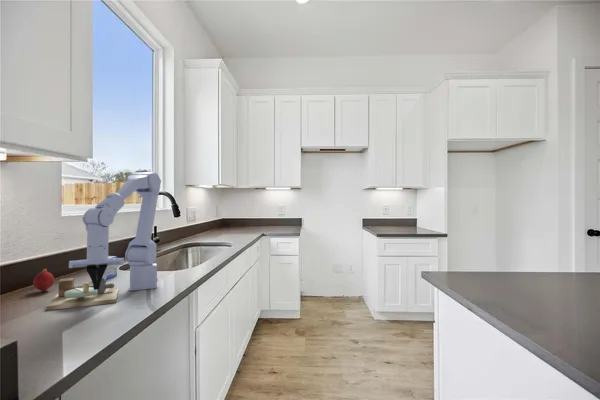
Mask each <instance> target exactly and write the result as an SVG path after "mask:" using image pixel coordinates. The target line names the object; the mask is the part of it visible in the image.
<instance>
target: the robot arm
mask: <svg viewBox="0 0 600 400" xmlns="http://www.w3.org/2000/svg"><path fill="white" fill-rule="evenodd" d="M161 183H162V180H161V178H160V175H159V174H158V173H157V172H155V171H152V172H136V171H133V172H131V173H130V174H129V175H128V176H127V178H126V181H125V183H123V185H122V186H121V187H120V188H119V189H118V190H116V192H114V193H113V192H112V193H107V194H106V195H105V198H103V199H102V201H100V202H99V203H97V204H96V206H95V207H93V208H89V209H87V210H86V211H85V212H84V215H83V216H82V221H83V224H84V225H85V230H86V234H87V235H86V236H87V237H86V259H78V260H69V262H68V269H73V268H85V267H86V272H87V274H88V275H89V277H90V280H91V283H92V285H93V287H94V290H98V289H99V288H100V283H101V280H102V277H103V274H104V272H105V270H106V268H107V266H108V265H117V266H118V265H120V266H122V265H124V263H125V262H124V261H126V262H127V263H128V265H129V266H130V267H129V284H128V290H127V291H128V292H131V291H132V292H133V291H141V290H151V289H157V287H158V285H157V284H158V281H159V280H158V264H157V263H154V262H155V261H156V259H157V243H156V242H155V241H154V240H152V234H153V229H154V228H153V227H154V223H155V222H154V221H155V216H156V208H157V204H158V196H159V195H160V189H161ZM134 192H135V193H136V194H138V195H139V196H140V197H141V205H140V211H139V214H138V215H139V217H138V221H137V222H138V223H137V228H136V235H135V238H133V239H132V240H131V241H129V242H128V246H127V248H126V251H125V252H124V253H125V254H124V257H125V258H124V257H117V258H108V256H109V235H110V234H109V233H110V231H109V230H110V226H111V225H112V224H113V223H114V219H115V217H116V215H117V213H118V212H119V211H121V209H122V208H123V207H124V206H125V203H126V202H125V200H126V199H127V198H129V197H130V196H131V195H132V194H133V193H134ZM101 263H104V264H101Z"/></svg>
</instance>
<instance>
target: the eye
mask: <svg viewBox="0 0 600 400" xmlns="http://www.w3.org/2000/svg"><path fill="white" fill-rule="evenodd" d="M105 284H107V280H106V275H103V277H102V280H101V283H100V288H99V289H98V290H97V295H99V294H104V293H105V291H106V289H105Z"/></svg>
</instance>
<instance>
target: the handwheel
mask: <svg viewBox="0 0 600 400" xmlns="http://www.w3.org/2000/svg"><path fill="white" fill-rule="evenodd" d="M89 285H90V283H89V282H83V285H82V286H83V288H75V289H72V290H68V291H66V292H65V293H64V297H66V298H77V299H78V300H80V299H84V297H86V296H90V295H93V294H95V293H96V292H97V290H94V288H93V287H89Z"/></svg>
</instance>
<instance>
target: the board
mask: <svg viewBox="0 0 600 400" xmlns="http://www.w3.org/2000/svg"><path fill="white" fill-rule="evenodd" d="M119 293H120V288H119V287H117V288H116V287H114V288H107V289H106V291H105V293H104V294H99V295H97V292H96V293H95V294H93V295H90V296H86V297H84V299H80V300H78V299H77V298H66V297H64V296H61V297H58V293H57V294H56V295H54V297H53V298H52V299H51V300H50V301H49V303H48V304H47V305H46V306H45V311H52V310H60V309H61V310H62V309H69V308H79V307H86V306H87V307H88V306H98V305H106V304H113V303H114V304H115V303H117V300H118V298H119V297H118V296H119Z"/></svg>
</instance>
